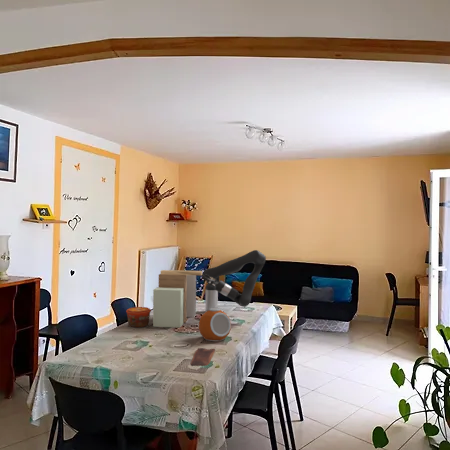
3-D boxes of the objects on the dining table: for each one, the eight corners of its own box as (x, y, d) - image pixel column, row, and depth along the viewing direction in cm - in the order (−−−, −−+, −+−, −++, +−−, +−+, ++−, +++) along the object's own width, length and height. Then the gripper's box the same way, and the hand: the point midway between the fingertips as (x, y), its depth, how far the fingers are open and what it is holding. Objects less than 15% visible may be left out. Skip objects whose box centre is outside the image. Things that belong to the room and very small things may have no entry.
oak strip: (162, 273, 294) (162, 270, 294) (202, 274, 292) (202, 271, 292) (160, 274, 290) (160, 270, 290) (201, 275, 288) (201, 271, 288)
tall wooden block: (159, 318, 298) (160, 273, 297) (188, 319, 296) (188, 273, 295) (156, 322, 289) (156, 274, 288) (185, 323, 287) (185, 275, 286)
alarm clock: (208, 344, 239) (208, 313, 239) (193, 336, 254) (193, 307, 253) (236, 339, 249) (236, 309, 249) (220, 332, 264) (221, 304, 264)
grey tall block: (195, 315, 309) (196, 274, 309) (194, 317, 303) (194, 275, 303) (176, 314, 310) (176, 273, 310) (174, 316, 305) (175, 274, 304)
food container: (120, 326, 276) (120, 310, 276) (136, 321, 290) (136, 305, 290) (140, 329, 268) (140, 312, 268) (155, 324, 282) (155, 308, 282)
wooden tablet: (208, 364, 203) (187, 361, 204) (207, 369, 203) (187, 365, 204) (216, 348, 229) (198, 345, 230) (215, 352, 229) (197, 349, 231)
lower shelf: (156, 323, 286) (157, 287, 285) (183, 324, 284) (183, 288, 283) (153, 326, 277) (153, 289, 276) (180, 327, 275) (180, 290, 274)
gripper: (227, 282, 295) (207, 269, 296) (225, 285, 281) (204, 272, 282) (221, 291, 296) (201, 278, 297) (219, 294, 281) (198, 282, 283)
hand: (203, 275), depth 290 cm, fingers open, 8 cm apart
